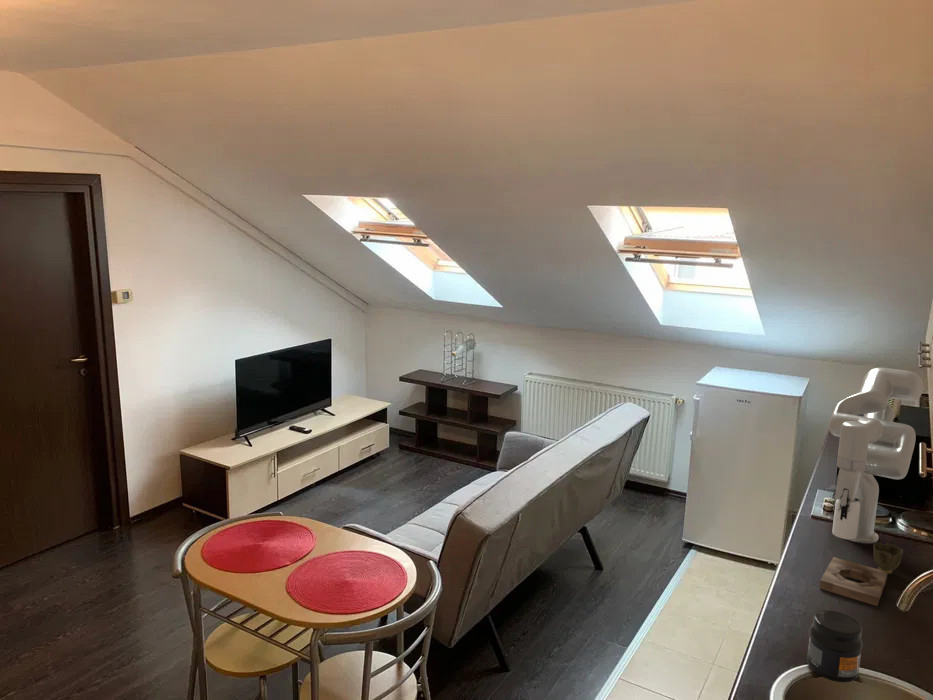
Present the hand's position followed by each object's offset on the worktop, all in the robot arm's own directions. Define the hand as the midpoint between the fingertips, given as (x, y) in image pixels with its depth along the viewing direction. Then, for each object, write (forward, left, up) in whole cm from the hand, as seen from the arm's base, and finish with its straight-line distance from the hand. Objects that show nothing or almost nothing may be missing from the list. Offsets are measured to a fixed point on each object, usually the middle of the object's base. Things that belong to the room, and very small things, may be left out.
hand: (845, 518), depth 203 cm
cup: (+2, +12, -13) cm, 18 cm away
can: (+1, 0, -5) cm, 6 cm away
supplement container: (+63, +9, -13) cm, 65 cm away
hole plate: (+16, +6, -13) cm, 21 cm away
